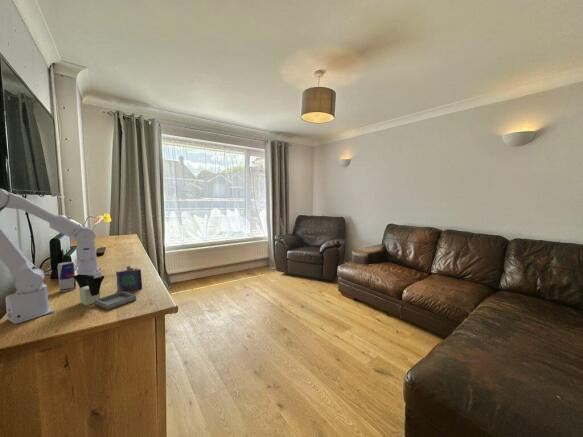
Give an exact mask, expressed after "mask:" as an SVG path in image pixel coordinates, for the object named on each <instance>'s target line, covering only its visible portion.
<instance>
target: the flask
mask: <svg viewBox="0 0 583 437" xmlns="http://www.w3.org/2000/svg"><path fill="white" fill-rule="evenodd" d="M115 274H116V286H117V293H118V292H121V291H124V292H131V291H139V290H142V289H143V281H142V280H143V279H142V270H141V268H137V267H136V268H133V267H131V265H127V266H126V269H124V270H123V269H120V270H116V272H115Z"/></svg>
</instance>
